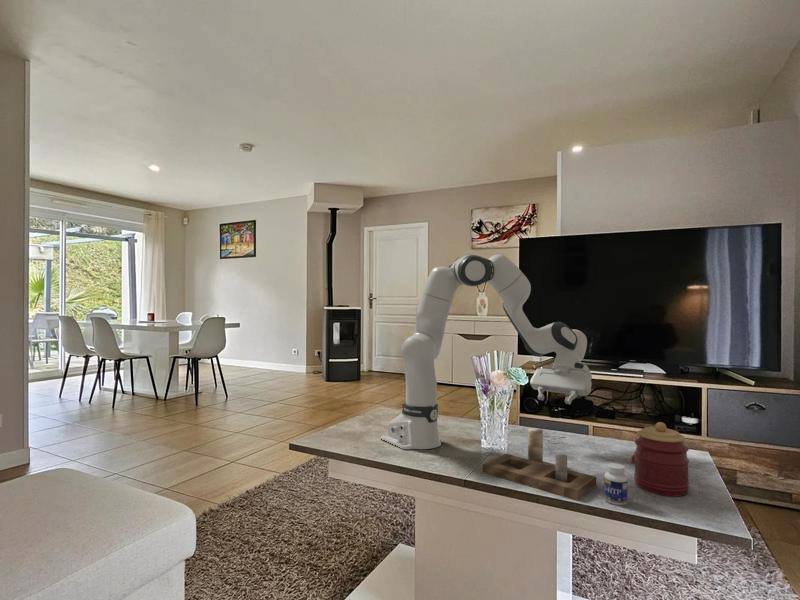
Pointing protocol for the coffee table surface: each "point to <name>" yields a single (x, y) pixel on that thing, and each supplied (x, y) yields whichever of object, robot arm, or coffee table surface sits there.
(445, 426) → the coffee table surface
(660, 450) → the canister
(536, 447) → the wooden peg
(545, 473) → the wooden peg holder
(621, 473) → the pill bottle
